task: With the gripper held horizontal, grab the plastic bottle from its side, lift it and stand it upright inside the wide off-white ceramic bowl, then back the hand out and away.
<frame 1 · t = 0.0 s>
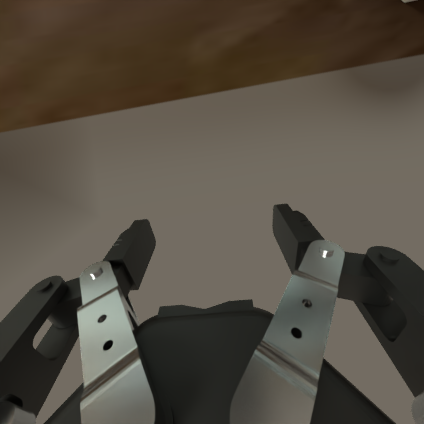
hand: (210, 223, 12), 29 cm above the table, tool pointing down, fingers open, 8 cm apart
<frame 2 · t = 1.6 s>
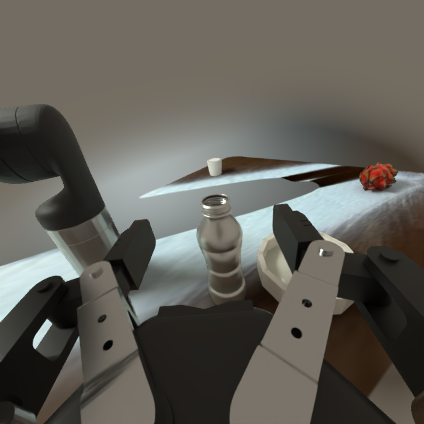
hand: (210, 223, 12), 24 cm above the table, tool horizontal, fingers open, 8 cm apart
bowl: (303, 271, 36), on the table
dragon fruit: (373, 188, 60), on the table
white cup: (215, 174, 91), on the table
plastic bottle: (228, 297, 34), on the table
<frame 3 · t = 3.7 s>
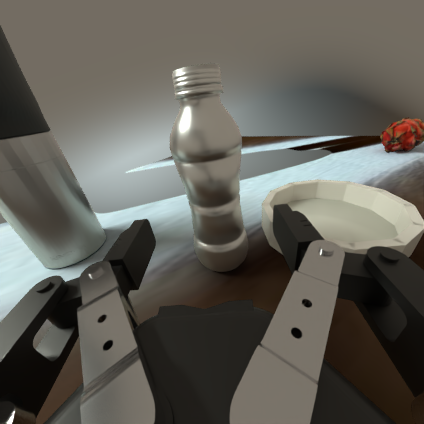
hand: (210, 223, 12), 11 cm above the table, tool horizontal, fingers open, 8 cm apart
bowl: (325, 228, 27), on the table
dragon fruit: (396, 151, 51), on the table
plastic bottle: (223, 260, 24), on the table
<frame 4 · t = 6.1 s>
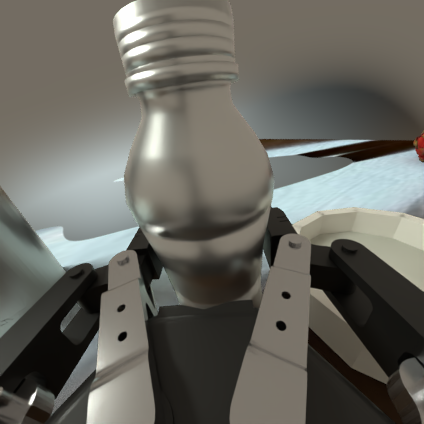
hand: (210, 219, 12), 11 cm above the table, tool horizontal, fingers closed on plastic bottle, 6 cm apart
bowl: (376, 286, 18), on the table
plastic bottle: (228, 342, 16), on the table, touching gripper
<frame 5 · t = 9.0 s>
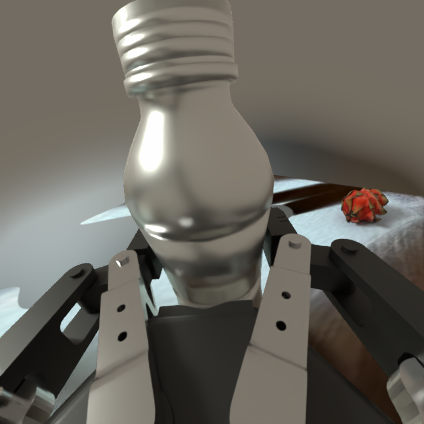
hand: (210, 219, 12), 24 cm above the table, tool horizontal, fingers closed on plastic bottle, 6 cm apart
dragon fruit: (358, 219, 47), on the table
plastic bottle: (228, 343, 16), point 13 cm above the table, touching gripper
when the fingers open (13 cm above the table, at t = 12.0 s): plastic bottle drops 1 cm, resting on bowl.
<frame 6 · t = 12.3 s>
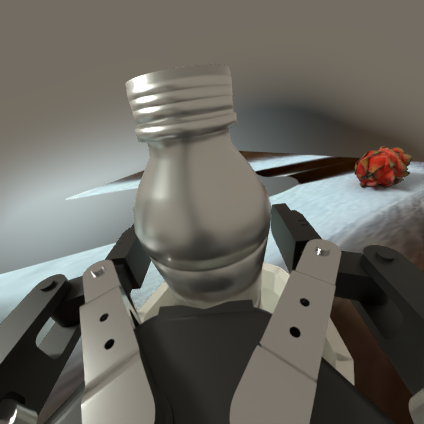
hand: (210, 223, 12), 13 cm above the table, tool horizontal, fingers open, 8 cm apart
bowl: (230, 355, 17), on the table
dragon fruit: (374, 185, 41), on the table
plastic bottle: (231, 354, 16), point 1 cm above the table, touching bowl
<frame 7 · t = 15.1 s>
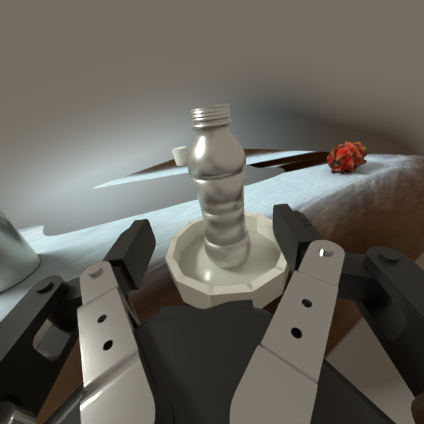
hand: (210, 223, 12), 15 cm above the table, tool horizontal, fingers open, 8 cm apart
bowl: (228, 261, 29), on the table
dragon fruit: (342, 171, 52), on the table
white cup: (183, 164, 84), on the table
plastic bottle: (229, 258, 28), point 1 cm above the table, touching bowl
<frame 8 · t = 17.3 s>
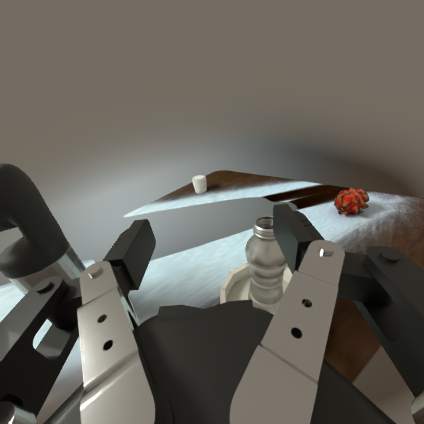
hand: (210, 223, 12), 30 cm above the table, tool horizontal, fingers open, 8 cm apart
bowl: (264, 307, 37), on the table
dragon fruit: (347, 212, 61), on the table
white cup: (201, 190, 92), on the table
plastic bottle: (265, 306, 37), point 1 cm above the table, touching bowl
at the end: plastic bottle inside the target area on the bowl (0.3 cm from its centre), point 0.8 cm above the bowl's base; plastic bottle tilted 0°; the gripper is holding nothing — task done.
